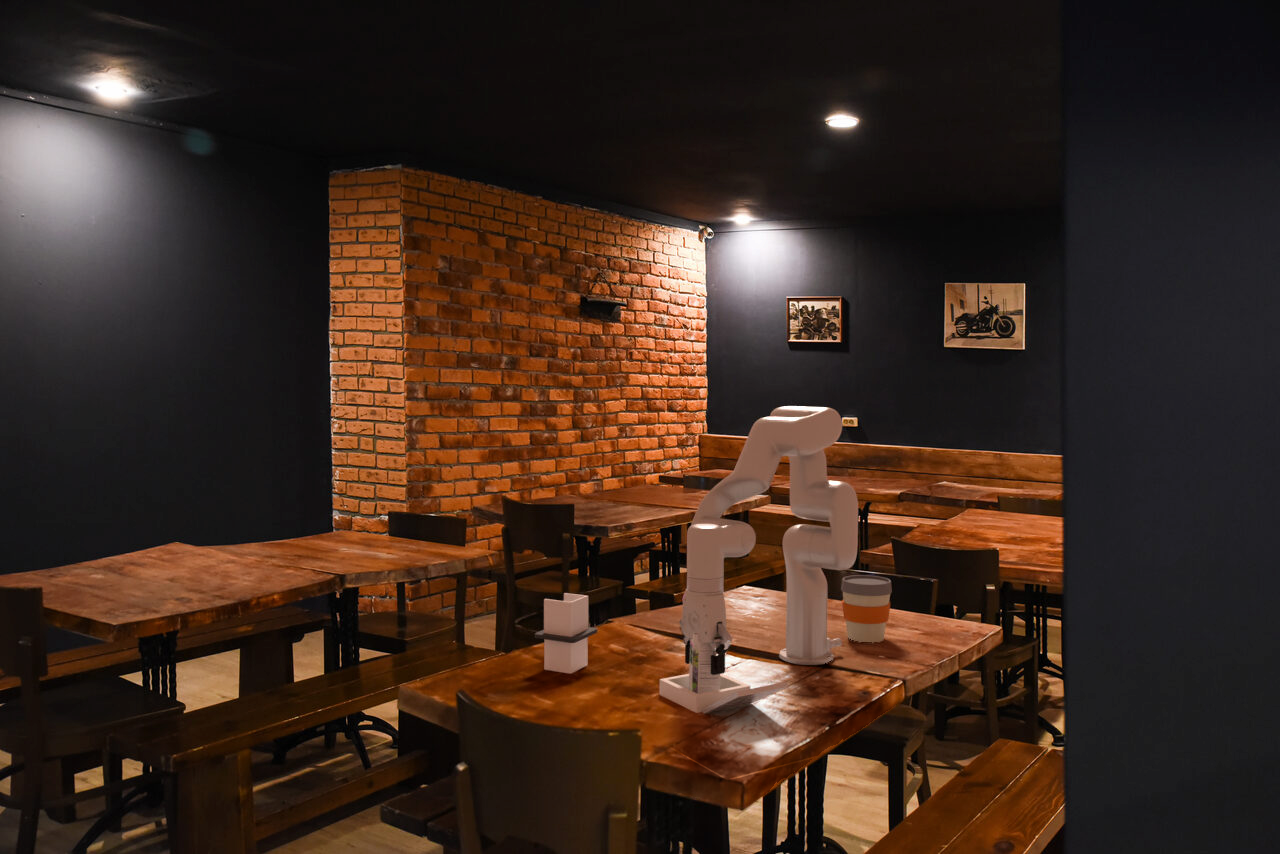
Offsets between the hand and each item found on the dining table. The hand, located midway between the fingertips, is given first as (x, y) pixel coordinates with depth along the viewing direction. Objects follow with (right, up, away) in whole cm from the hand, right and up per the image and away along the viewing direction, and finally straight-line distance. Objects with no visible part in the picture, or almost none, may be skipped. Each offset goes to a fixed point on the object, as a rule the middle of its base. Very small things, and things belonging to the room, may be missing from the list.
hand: (704, 667), depth 211 cm
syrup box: (0, -7, +1) cm, 7 cm away
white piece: (0, -6, 0) cm, 6 cm away
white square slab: (+7, -4, -11) cm, 14 cm away
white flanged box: (-30, -6, +23) cm, 38 cm away
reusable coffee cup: (+44, -4, +49) cm, 66 cm away
